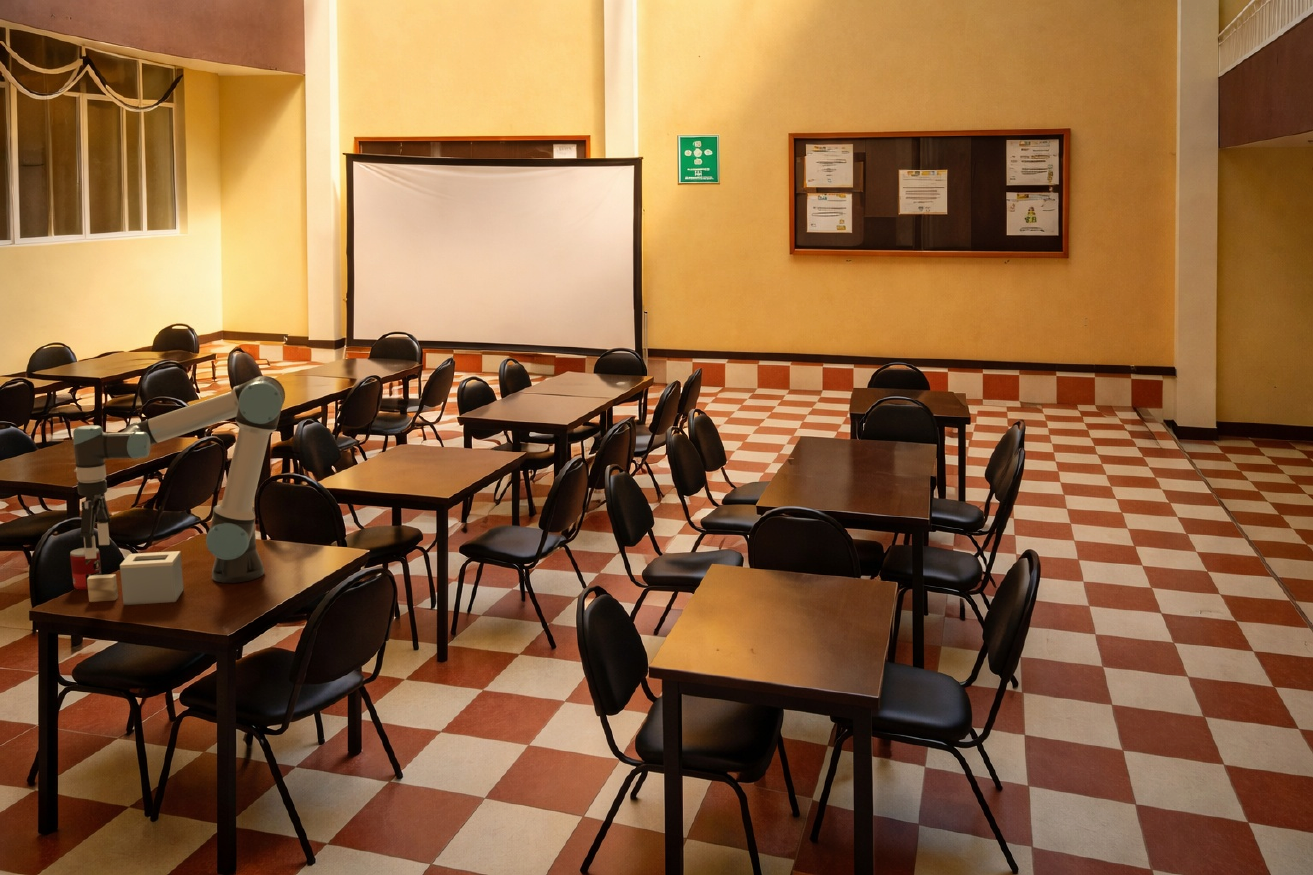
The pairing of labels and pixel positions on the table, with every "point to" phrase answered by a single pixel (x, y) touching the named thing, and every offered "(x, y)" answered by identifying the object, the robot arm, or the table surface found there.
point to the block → (102, 588)
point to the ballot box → (151, 577)
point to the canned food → (83, 567)
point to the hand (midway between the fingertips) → (97, 551)
